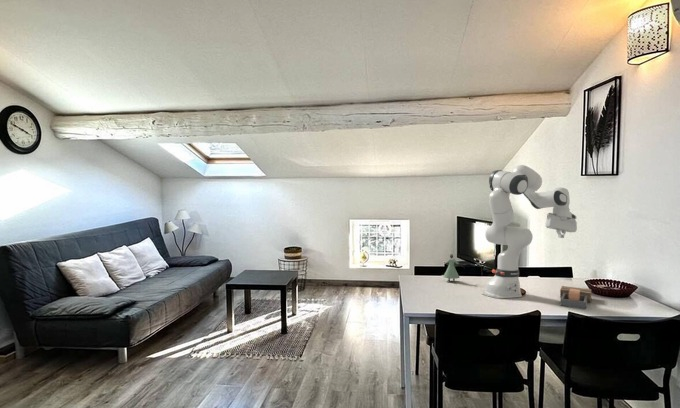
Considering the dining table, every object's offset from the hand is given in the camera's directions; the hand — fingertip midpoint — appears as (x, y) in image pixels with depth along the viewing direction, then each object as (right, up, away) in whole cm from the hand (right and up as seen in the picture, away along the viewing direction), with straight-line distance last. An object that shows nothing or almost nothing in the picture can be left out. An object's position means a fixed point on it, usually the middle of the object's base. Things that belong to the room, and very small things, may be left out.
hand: (561, 237), depth 229 cm
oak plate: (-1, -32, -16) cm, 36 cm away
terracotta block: (-5, -29, -22) cm, 37 cm away
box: (-8, -32, -27) cm, 43 cm away
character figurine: (-57, -31, +25) cm, 70 cm away
